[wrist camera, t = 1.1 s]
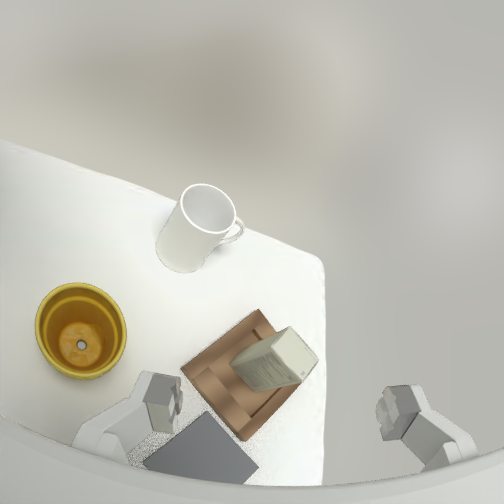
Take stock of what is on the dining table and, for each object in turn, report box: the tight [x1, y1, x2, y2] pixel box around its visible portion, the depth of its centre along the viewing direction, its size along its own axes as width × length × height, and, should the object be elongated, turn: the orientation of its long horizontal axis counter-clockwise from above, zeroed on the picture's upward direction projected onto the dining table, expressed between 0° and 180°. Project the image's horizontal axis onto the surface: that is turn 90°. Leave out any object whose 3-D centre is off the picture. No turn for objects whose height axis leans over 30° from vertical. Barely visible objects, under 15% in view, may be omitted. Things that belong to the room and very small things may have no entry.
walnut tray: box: [181, 309, 301, 442], centre depth 45 cm, size 14×16×2 cm
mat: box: [143, 411, 259, 484], centre depth 35 cm, size 12×12×1 cm
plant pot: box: [35, 283, 127, 380], centre depth 32 cm, size 10×10×10 cm
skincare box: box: [230, 326, 319, 392], centre depth 41 cm, size 6×4×12 cm
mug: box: [156, 184, 245, 273], centre depth 46 cm, size 12×8×12 cm
